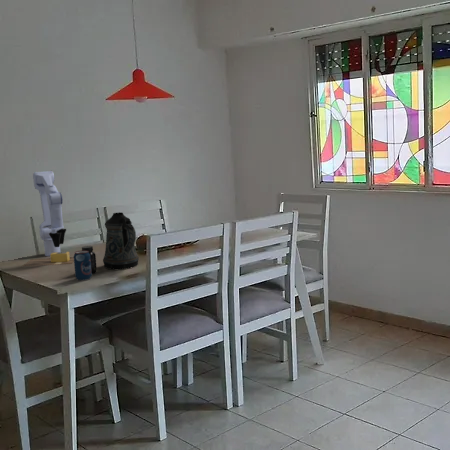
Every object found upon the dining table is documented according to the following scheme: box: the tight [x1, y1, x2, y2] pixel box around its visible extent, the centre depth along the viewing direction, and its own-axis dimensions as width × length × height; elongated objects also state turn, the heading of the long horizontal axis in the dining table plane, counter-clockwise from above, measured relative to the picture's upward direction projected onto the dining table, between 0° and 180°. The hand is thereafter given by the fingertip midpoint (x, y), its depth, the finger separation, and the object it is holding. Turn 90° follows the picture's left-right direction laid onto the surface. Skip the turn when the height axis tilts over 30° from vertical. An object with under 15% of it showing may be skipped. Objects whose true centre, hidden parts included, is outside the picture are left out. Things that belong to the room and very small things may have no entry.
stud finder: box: [49, 251, 71, 262], centre depth 298 cm, size 4×8×4 cm, turn 90°
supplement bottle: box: [81, 245, 98, 275], centre depth 274 cm, size 7×7×12 cm
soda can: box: [73, 249, 93, 281], centre depth 263 cm, size 7×7×12 cm
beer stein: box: [102, 212, 140, 271], centre depth 283 cm, size 16×19×25 cm
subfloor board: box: [21, 256, 74, 267], centre depth 299 cm, size 16×24×1 cm, turn 90°
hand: (59, 245), depth 297 cm, fingers open, 7 cm apart
